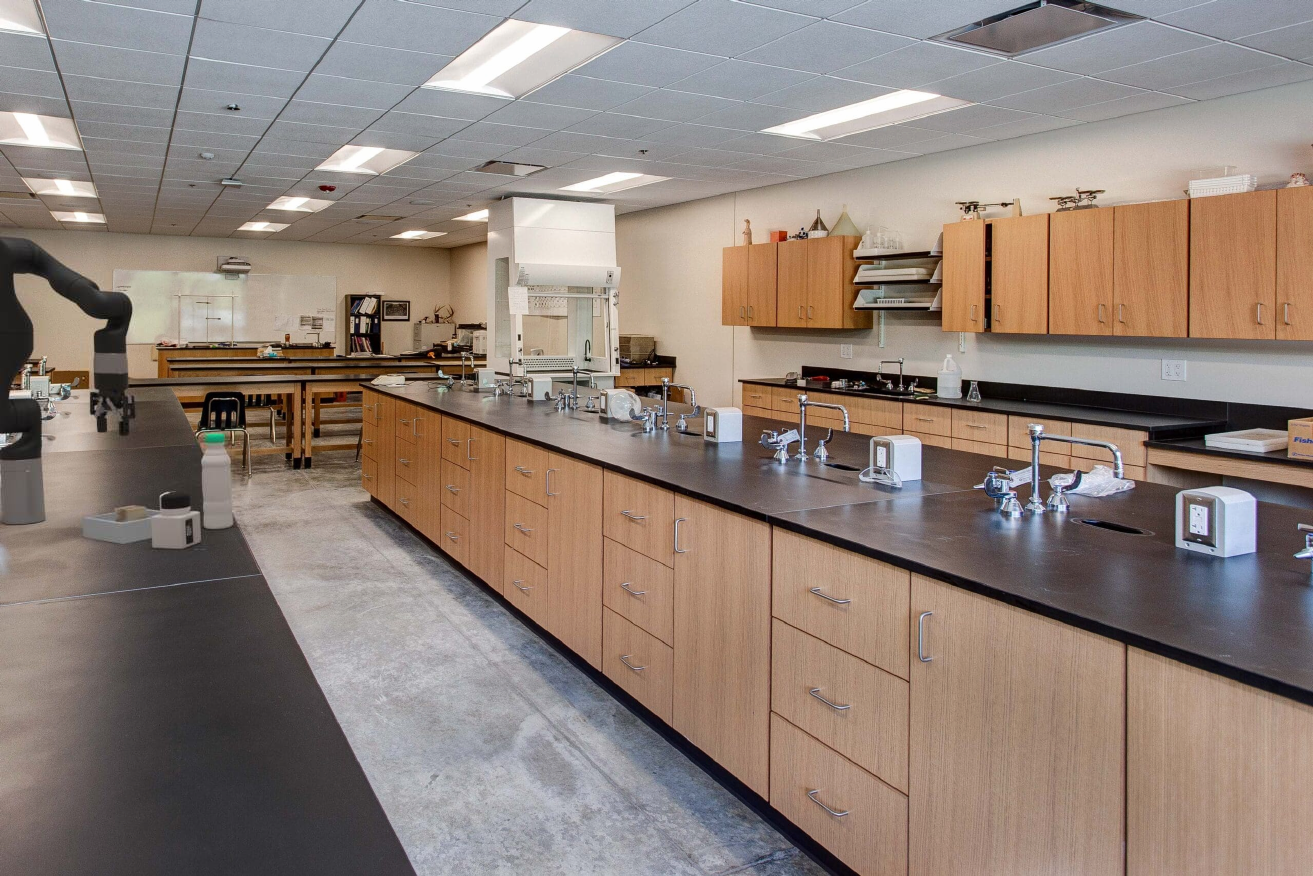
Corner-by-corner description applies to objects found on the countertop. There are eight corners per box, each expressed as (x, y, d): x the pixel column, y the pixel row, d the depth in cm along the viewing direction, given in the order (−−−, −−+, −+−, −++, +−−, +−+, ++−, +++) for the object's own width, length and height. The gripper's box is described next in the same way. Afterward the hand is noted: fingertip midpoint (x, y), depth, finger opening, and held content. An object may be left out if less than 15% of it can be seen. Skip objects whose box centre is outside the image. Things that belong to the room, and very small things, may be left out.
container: (201, 542, 220) (199, 490, 219) (182, 549, 213) (179, 495, 211) (172, 541, 221) (169, 489, 220) (151, 548, 213) (149, 494, 212)
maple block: (115, 531, 226) (114, 508, 225) (134, 528, 230) (133, 505, 229) (128, 533, 223) (127, 510, 223) (147, 530, 228) (146, 507, 227)
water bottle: (225, 530, 234) (221, 435, 231) (198, 529, 234) (194, 434, 232) (238, 524, 241) (234, 432, 238) (212, 523, 241) (208, 432, 239)
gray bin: (83, 537, 223) (82, 517, 223) (140, 526, 237) (139, 508, 236) (123, 544, 217) (121, 523, 216) (178, 532, 230) (177, 513, 230)
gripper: (78, 369, 226) (80, 432, 228) (115, 373, 220) (117, 438, 222) (107, 368, 233) (109, 430, 235) (143, 372, 227) (145, 435, 229)
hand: (113, 434), depth 228 cm, fingers open, 8 cm apart
